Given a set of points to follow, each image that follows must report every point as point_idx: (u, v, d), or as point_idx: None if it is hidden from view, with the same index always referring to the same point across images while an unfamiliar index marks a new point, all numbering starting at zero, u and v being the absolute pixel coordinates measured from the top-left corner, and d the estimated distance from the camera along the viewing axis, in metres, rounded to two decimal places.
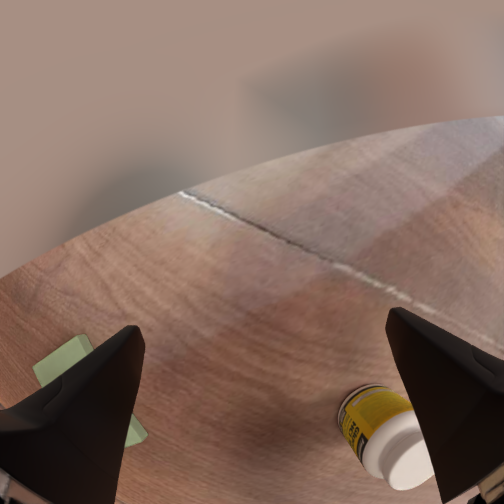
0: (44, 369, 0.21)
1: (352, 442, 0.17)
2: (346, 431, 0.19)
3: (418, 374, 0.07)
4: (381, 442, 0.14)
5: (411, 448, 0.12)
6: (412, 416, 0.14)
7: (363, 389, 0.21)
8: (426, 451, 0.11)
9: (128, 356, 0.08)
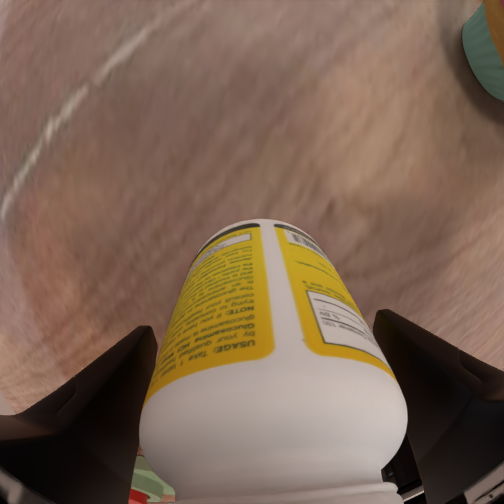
0: None
1: None
2: None
3: (404, 378, 0.07)
4: None
5: None
6: (146, 434, 0.04)
7: None
8: None
9: (142, 357, 0.08)
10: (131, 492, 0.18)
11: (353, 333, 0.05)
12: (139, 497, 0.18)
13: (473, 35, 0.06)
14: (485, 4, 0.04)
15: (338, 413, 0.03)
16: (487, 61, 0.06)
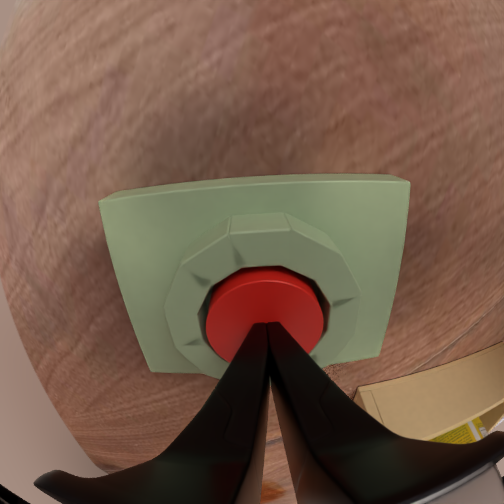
0: (156, 344, 0.12)
1: None
2: None
3: (278, 400, 0.07)
4: None
5: None
6: None
7: None
8: None
9: (268, 356, 0.08)
10: (292, 271, 0.09)
11: None
12: (312, 292, 0.09)
13: None
14: None
15: None
16: None
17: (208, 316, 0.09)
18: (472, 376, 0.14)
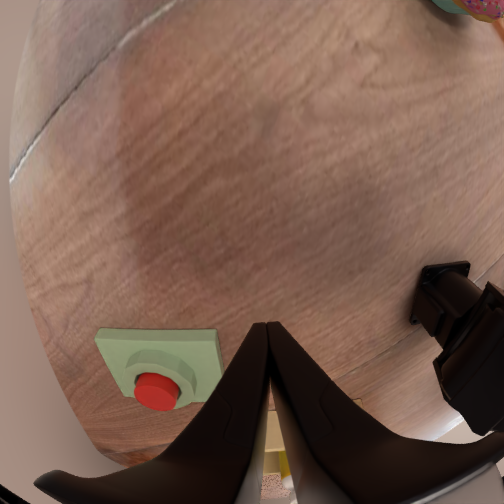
0: (125, 386, 0.25)
1: None
2: None
3: (278, 400, 0.07)
4: (287, 489, 0.24)
5: (291, 503, 0.21)
6: (288, 481, 0.23)
7: None
8: None
9: (268, 356, 0.08)
10: (161, 380, 0.22)
11: None
12: (170, 388, 0.22)
13: None
14: None
15: None
16: None
17: (134, 392, 0.21)
18: None
